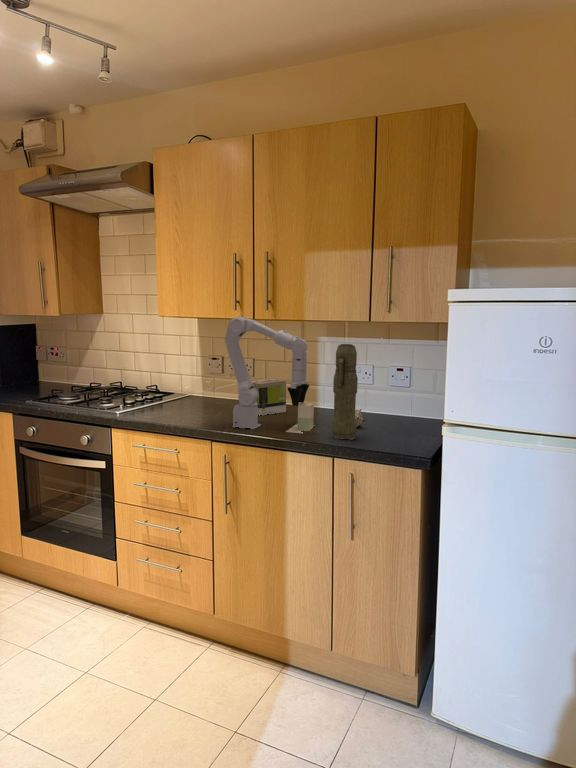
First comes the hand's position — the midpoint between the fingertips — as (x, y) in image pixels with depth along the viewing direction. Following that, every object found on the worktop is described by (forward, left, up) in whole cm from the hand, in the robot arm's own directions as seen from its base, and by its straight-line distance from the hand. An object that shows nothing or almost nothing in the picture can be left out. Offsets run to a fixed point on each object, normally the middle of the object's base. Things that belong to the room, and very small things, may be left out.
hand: (298, 404), depth 212 cm
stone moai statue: (+20, -7, -11) cm, 24 cm away
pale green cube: (+3, 0, -10) cm, 10 cm away
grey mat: (+3, 0, -10) cm, 11 cm away
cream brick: (+3, 0, -5) cm, 6 cm away
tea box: (-23, +26, -11) cm, 36 cm away
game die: (+20, +11, -11) cm, 25 cm away
